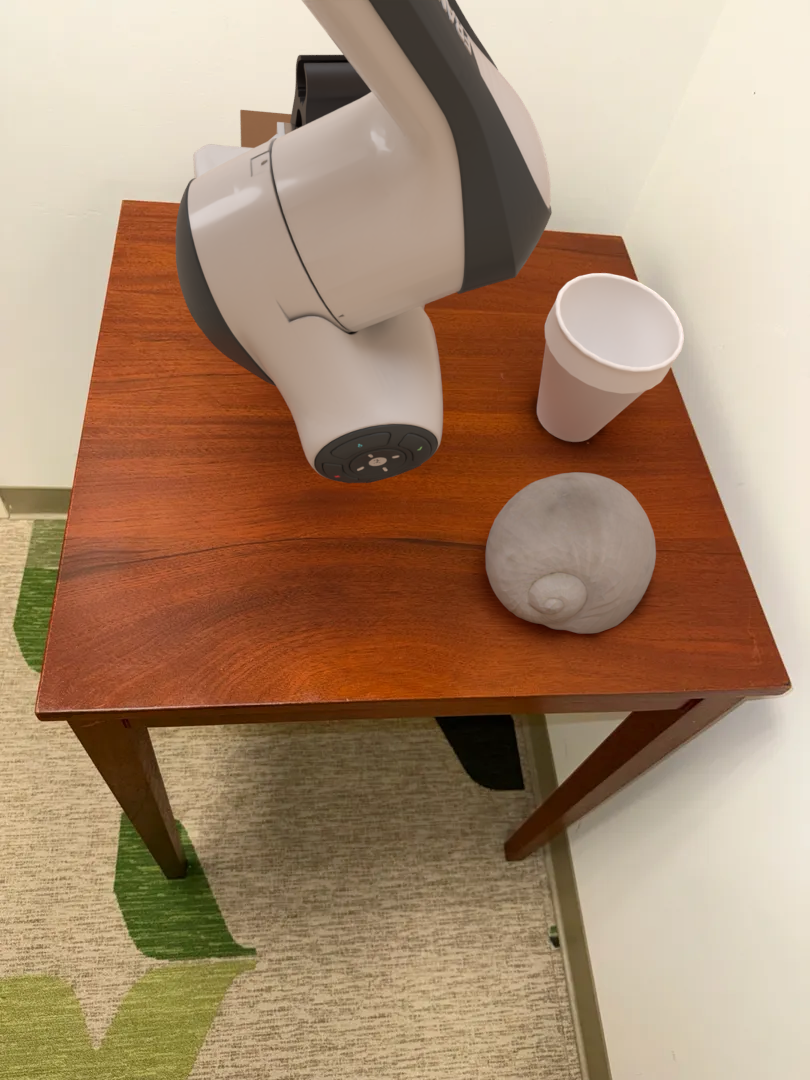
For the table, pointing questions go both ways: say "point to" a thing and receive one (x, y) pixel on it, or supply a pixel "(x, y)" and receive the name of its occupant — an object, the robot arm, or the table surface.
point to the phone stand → (324, 87)
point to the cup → (603, 352)
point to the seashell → (571, 553)
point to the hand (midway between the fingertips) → (336, 136)
